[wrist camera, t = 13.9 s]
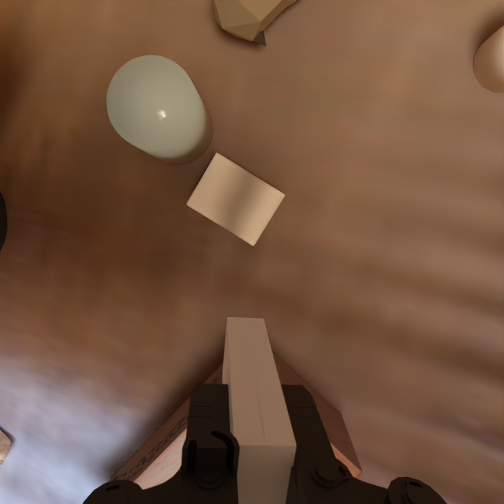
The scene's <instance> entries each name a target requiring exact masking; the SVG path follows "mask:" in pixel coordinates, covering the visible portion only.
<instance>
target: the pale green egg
mask: <svg viewBox="0 0 504 504" xmlns="http://www.w3.org/2000/svg"><path fill="white" fill-rule="evenodd" d="M106 101H107V112H108V116H109V119H110V121H111V123H112V125H113V127H114V129H115V130H116V131H117V133H118V134H119V135H120V136H121V137H122V138H123V139H125V140H126V141H127V142H129V143H130V144H132V145H134V146H136V147H138V148H139V149H141V150H143V151H145V152H147V153H148V154H150V155H152V156H154V157H156V158H157V159H159V160H161V161H163V162H165V163H169V164H173V165H182V164H187V163H190V162H193V161H194V160H196V159H198V158H199V157H200V156H201V155H202V154H203V153H204V152H205V151H206V149H207V148H208V146H209V144H210V141H211V138H212V132H213V125H212V119H211V116H210V113H209V111H208V110H207V108H206V106H205V104H204V102H203V101H202V99H201V97H200V95H199V94H198V92H197V90H196V88H195V86H194V85H193V83H192V81H191V79H190V77H189V76H188V75H187V73H186V72H185V71H184V70H183V68H182V67H180V66H179V65H178V64H177V63H175V62H174V61H172V60H170V59H168V58H166V57H162V56H157V55H145V56H140V57H136V58H134V59H132V60H130V61H128V62H127V63H125V64H124V65H123V66H122V67H121V68H120V69H119V70H118V71H117V72H116V73H115V75H114V76H113V78H112V80H111V82H110V85H109V88H108V92H107V99H106Z"/></svg>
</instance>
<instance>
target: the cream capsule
mask: <svg viewBox="0 0 504 504" xmlns="http://www.w3.org/2000/svg"><path fill="white" fill-rule="evenodd" d="M473 69H474V74H475V77H476V79H477V80H478V82H479V83H480V84H481V85H482V86H483V87H484V88H486V89H487V90H490V91H493V92H498V93H502V92H504V26H502V27H501V28H500V29H499V30H498V31H496V32H495V33H494V34H493V35H492V36H490V37H489V38H488V39H487V40H486V41H485V42H483V43H482V44H481V46H480V47H479V48H478V50H477V52H476V54H475V57H474V62H473Z"/></svg>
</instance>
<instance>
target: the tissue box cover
mask: <svg viewBox="0 0 504 504" xmlns="http://www.w3.org/2000/svg"><path fill="white" fill-rule="evenodd" d="M272 354H273V357H274V361H275V365H276V369H277V373H278V377H279V380H280V384H286V385H303V386H304V387H305V388H306V389H307V390H308V391H309V392H310V393H311V394H312V396H313V399H314V401H315V404H316V406H317V409H318V412H319V414H320V419H321V420H322V422H323V425H324V428H325V430H326V433H327V436H328V438H329V441H330V444H331V446H332V449H333V452H334V454H335V457H336V458H337V459H339V460H340V461H341V462H342V463H343V464H345V465H346V466H347V467H348V469H349V471H350V472H351V474H352V476H353V477H355V478H358V477H359V476H360V475H361V474H362V473H363V472H362V469H361V466H360V464H359V461H358V458H357V455H356V453H355V450H354V447H353V445H352V442H351V439H350V436H349V434H348V431H347V428H346V426H345V423H344V420H343V417H342V415H341V414H340V413H339V412H338V411H337V410H336V409H335V408H333V407H332V406H331V405H330V404H329V403H328V402H327V401H326V400H325V399H324V398H323V397H322V396H321V395H319V394H318V393H317V392H316V391H315V390H314V389H313V388H312V387H311V386H310V385H309V384H308V383H307V382H305V381H304V380H303V379H302V378H301V377H300V376H299V375H298V374H297V373H296V372H295V371H294V370H293V369H292V368H290V367H289V366H288V365H287V364H286V363H285V362H284V361H283V360H282V359H281V358H280V357H279V356H278V355H276V354H275V353H274V352H273V351H272ZM222 372H223V363H222V364H221V365H220V366H219V367H218V368H217V369H216V370H215V371H214V372H213V374H212V375H211V376H210V377H209V378H208V379H207V380H206V381H205V382H204V383H207V384H223V383H222ZM189 404H190V397H189V398H188V399H187V400H186V401H185V402H184V403H183V404H182V405H181V406H180V407H179V409H178V410H177V411H176V412H175V413H174V414H173V415H172V416H171V417H170V418H169V419H168V420H167V421H166V422H165V423H164V424H163V425H162V426H161V427H160V428H159V429H158V430H157V431H156V432H155V433H154V434H153V435H152V436H151V437H150V438H149V439H148V440H147V441H146V442H145V443H144V445H143V446H142V447H141V448H140V449H139V450H138V451H137V452H136V453H135V454H134V455H133V456H132V457H131V458H130V459H129V460H128V461H127V462H126V463H125V464H124V465H123V466H122V467H121V468H120V469H119V470H118V471H117V472H116V473H115V474H114V475H113V476H112V477H111V479H110V480H109V482H111V481H114V480H130V481H132V482H135V483H137V484H139V486H140V487H141V488H142V489H147V488H150V487H153V486H156V485H159V484H161V483H163V482H165V481H167V480H168V479H170V478H171V477H173V476H174V474H175V473H176V472H177V471H178V470H179V468H180V466H181V459H182V447H183V444H184V441H185V439H186V432H187V423H188V414H189Z"/></svg>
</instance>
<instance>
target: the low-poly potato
mask: <svg viewBox="0 0 504 504" xmlns="http://www.w3.org/2000/svg"><path fill="white" fill-rule="evenodd" d="M212 1H213V9H214V17H215V20H216V22H217V23H218V24H219V25H220V26H221V27H222V28H223V29H224V30H226V31H227V32H229V33H230V34H232V35H233V36H235V37H237V38H241V39H245V40H250V41H254V42H256V43H259V44H262V45H264V46H266V42H265V38H264V33H263V30H264V29H265V28H266V27H267V26H268V25H269V24H270V23H271V22H272V21H273V20H274V19H275V18H276V17H277V16H278V15H279V14H280V13H281V12H282V11H283V10H284V9H285V8H286V7H288V6H289V5H291V4H292V3H294V2H295V1H297V0H212Z"/></svg>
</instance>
